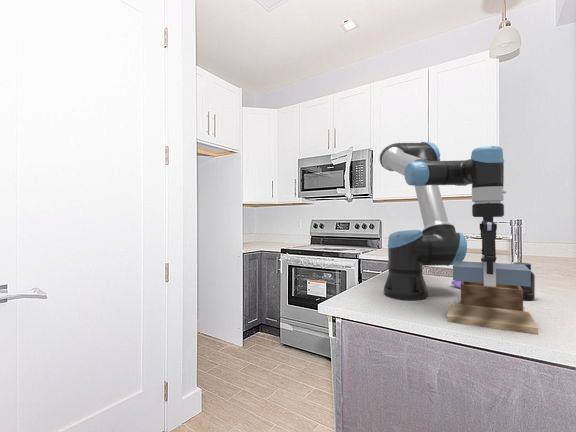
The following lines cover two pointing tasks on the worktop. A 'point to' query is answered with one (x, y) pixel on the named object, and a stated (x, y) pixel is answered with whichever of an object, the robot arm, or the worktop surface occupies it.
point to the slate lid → (504, 273)
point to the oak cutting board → (492, 318)
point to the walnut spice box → (492, 295)
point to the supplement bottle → (528, 291)
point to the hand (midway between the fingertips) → (488, 281)
